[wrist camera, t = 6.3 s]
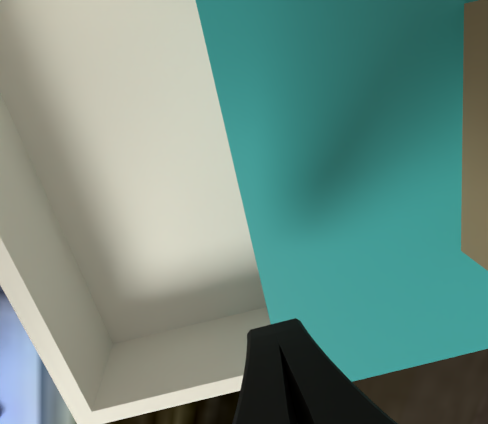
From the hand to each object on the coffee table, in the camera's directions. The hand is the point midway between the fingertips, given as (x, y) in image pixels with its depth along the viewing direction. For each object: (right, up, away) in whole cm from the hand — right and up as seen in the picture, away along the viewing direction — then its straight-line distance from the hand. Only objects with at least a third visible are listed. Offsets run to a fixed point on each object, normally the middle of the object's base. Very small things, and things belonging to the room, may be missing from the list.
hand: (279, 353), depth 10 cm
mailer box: (-3, +6, +7) cm, 10 cm away
